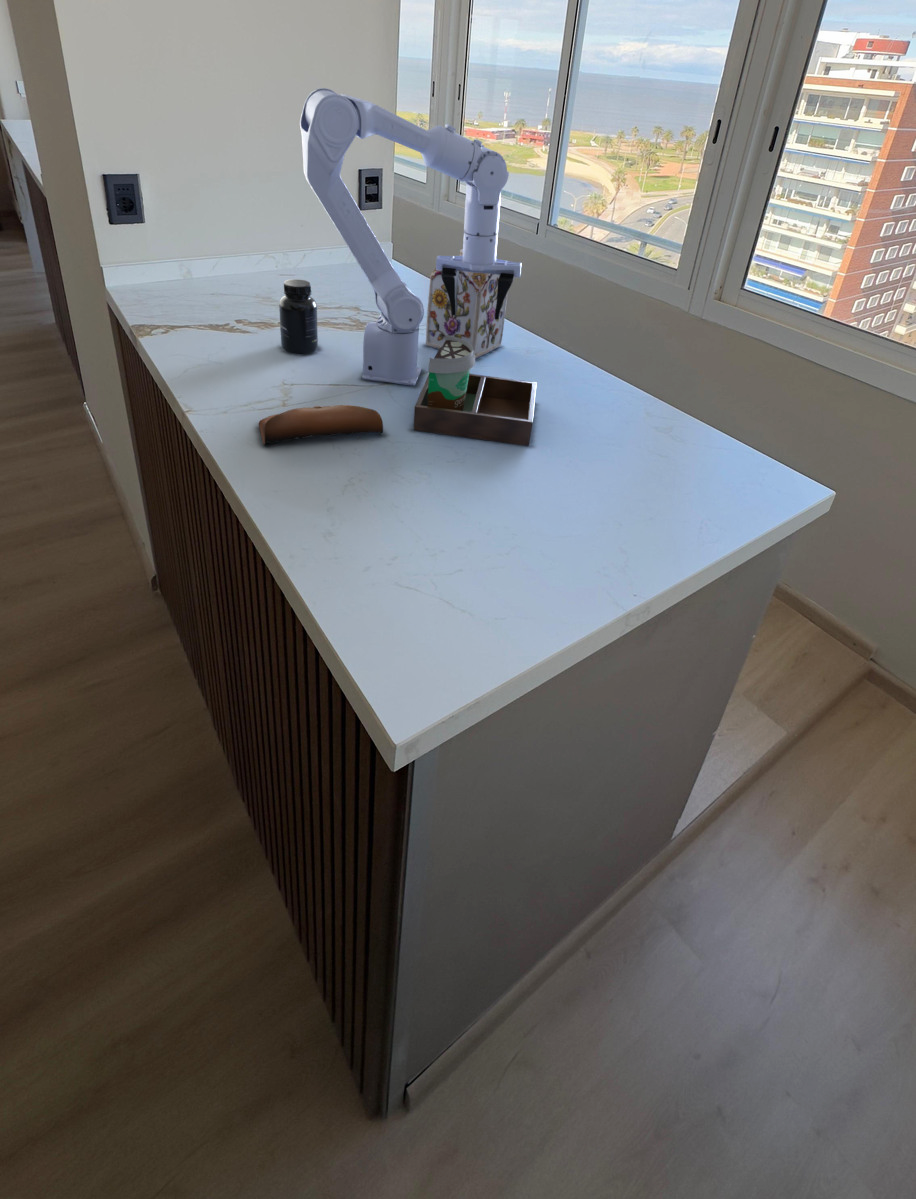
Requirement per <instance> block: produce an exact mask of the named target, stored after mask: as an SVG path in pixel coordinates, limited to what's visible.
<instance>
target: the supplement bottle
mask: <svg viewBox="0 0 916 1199" xmlns="http://www.w3.org/2000/svg"><path fill="white" fill-rule="evenodd" d="M283 294H284V295H283V296H282V297H281V298H280V300H279V302H278V310H279V326H280V343H281V344H280V345H281V348H282V349H283V351H285V352H287V353H289V354H293V355H309V354H312V353H315V352H316V351H317V350H318V347H319V339H318V338H319V335H318V334H319V333H318V304H317V302H316V300H315V299H314V297H312V296H311V295H312V284H311V282H310V281H308V280H305V279H300V278H299V279H297V278H291V279H286V280H285V281H283Z"/></svg>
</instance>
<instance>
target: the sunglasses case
mask: <svg viewBox="0 0 916 1199" xmlns="http://www.w3.org/2000/svg"><path fill="white" fill-rule="evenodd" d="M258 430H259V433H260V437H261V442H262V445H267V443H268V444H271V443H277V442H285V441H293V440H296V439H305V438H310V437H328V436H329V437H330V436H335V435H336V436H337V435H352V434H366V433H380V434H381V435H383V434H384V421H383V418H382V416H381V414H380V412H378V411H377V410H375V409H372V408H368V407H364V406H359V405H349V404H336V405H324V406H321V405H314V406H313V407H297V408H292V409H288V410H286V411H283V412H280V413H277V414H271V415H269V416H266V417H265V418H262V419H260V420H259V422H258Z"/></svg>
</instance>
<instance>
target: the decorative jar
mask: <svg viewBox="0 0 916 1199" xmlns="http://www.w3.org/2000/svg"><path fill="white" fill-rule="evenodd" d="M459 256H463V248H461V249H460V250H459ZM441 275H442V270H436V267H435V268H434V269H433V271H432V272H431V273H430V276H429V287H428V295H427V297H428V298H427V310H426V326H425V346H427V347H430V348H433V349H437V350H439V348H441V347H442V346H443V344H444V342H445V335H449V336H453V337H457V338H460V339H462V340H465V341H466V342H468V343H469V344H470V345H471V346H472V347H473V351H474V355H475V360H476V359H478V358H480V357H482V356H484V355H486V354H488V353H490V352H492V351H494V350H496V349H498V348H500V347H501V345H502V341H503V336H504V329H505V328H504V327H505V319H506V310H507V301H508V294H509V293H508V292H509V291H508V292H507V294H506V296H505V299H504V301H503V304H502V306H501V310H500V316H499V319H495V310H496V304H497V291H498V279H499V276H500V275H497V274H486V273H475V272H464V271H459V277H458V290H457V300H458V307H457V313H456V315H452V311H451V304H450V300H449V296H448V293H447V290H446V287H445V285H444V283H443V281H442V277H441Z"/></svg>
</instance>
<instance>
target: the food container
mask: <svg viewBox="0 0 916 1199" xmlns="http://www.w3.org/2000/svg"><path fill="white" fill-rule="evenodd" d="M428 359H429V361H428V366H427V367H428V368H427V373H428V375H429V382H428V406H429V407H437V408H444V409H451V410H459V411H463V408H464V402H465V396H466V390H467V385H468V379H469V374H471V373H470V372H471V369H472V368H473V367H474V366H475V365H476V359H475V355H474V351H473V347H472V346H471V345H470V344H469V343H468V342H466V341H465V340H462V339H460V338H457V337H453V336H449V335H445V342H444V344H443V346H442V347H441V348H439V349H437V351H436V353H435V355H434V357H429V358H428Z"/></svg>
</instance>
